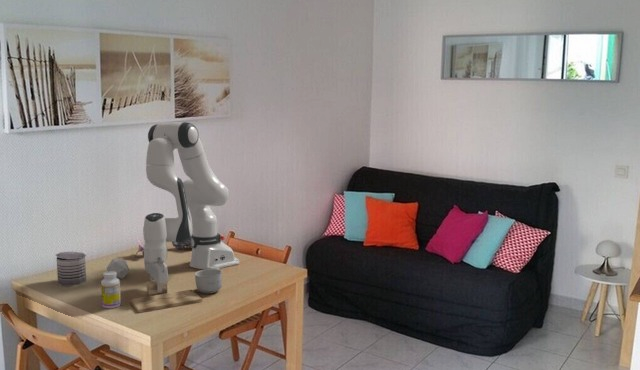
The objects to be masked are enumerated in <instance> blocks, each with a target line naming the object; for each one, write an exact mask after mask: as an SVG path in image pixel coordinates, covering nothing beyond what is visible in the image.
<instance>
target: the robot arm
mask: <svg viewBox="0 0 640 370" xmlns="http://www.w3.org/2000/svg"><path fill="white" fill-rule="evenodd" d="M200 138H201V137H200V136H199V131H198V128H197V127H196V125H194V124H193V123H190V122H187V121H186V122H185V121H184V122H180V121H176V122H175V121H173V122H171V121H170V122H166V123H157V124H153V125H152V126H151V127H150V128H149V130H148V132H147V140H148V146H147V150H146V158H145V160H146V161H145V172H146V178H147V180H148V181H149V183H150V184H152V185H153V186H154V187H157V188H159V189H161V190H163V191H166V192H168V193H170V194H172V196H173V197H174V199H175V205H176V209H177V210H176V211H177V215H178V216H177V217H165V215H164V214H163V213H160V212H152V213H149V214H147V215H146V216H144V220H143V230H142V231H143V233H142V234H143V241H144V246H143V247H144V250H143V251H141V252H142V254H141V255H142V256H143V263H144V269H145V272H146V273H147V274H148V275H149V276H150V280H151V281H156V282H157V291H158V292H162V287H163V284H167V285H168V282H169V274H168V272H169V271H168V270H169V269H168V265H167V263H165V261H167V260H168V245H167V242H168V243H169V242H171V243H172V242H180V243H185V242H186V241H188V240H189V239H190V238H191V237H192V239H191V244H192V248H191V257H190V262H189V266H190V267H191V268H193V269H201V270H205V269H216V268H219V269H222V268H227V267H231V266H236V265H240V260H239V259H238V258H237V257H236V256H235V254H234V251H233V248H232V247H230V246H229V245H227V244H226V243H224V242H223V241H224V240H225V239H226V237H225V235H223V234H219V233H218V218H217V215H216V214H215V213H214V212H213V210H212V209H211V207H219V206H220V207H221V206H224V205H225V204H226V203H227V201H228V200H229V198H230V197H229V196H230V195H229V193H230V192H229V189H228V187H227V186H226V185H225V184H224V183H223V182H221V181H220V180H219V178H218V177H217V175H216V174H215V173H214V172H213V169H212V168H211V166H210V163H209V161H208V158H207V154H206V152H205V147H204V146H203V143H202V141H201V139H200ZM175 149H177V153H178V156H179V159H180V162H181V163H180V164H181V166H182V169H183V173H184V174H185V175H186V176H187V177H188V178H189V179H186V180H184V181H183V180H182V179H181V178H180V177H178V175H177V173H176V170H175V155H174V151H175ZM190 217H191V218H190ZM151 281H150V282H151Z"/></svg>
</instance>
